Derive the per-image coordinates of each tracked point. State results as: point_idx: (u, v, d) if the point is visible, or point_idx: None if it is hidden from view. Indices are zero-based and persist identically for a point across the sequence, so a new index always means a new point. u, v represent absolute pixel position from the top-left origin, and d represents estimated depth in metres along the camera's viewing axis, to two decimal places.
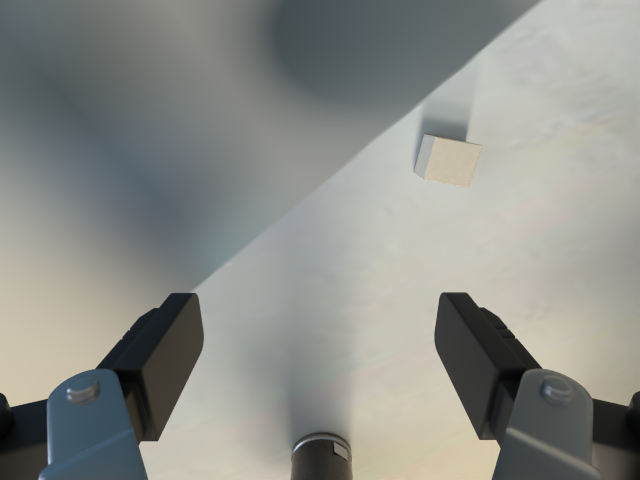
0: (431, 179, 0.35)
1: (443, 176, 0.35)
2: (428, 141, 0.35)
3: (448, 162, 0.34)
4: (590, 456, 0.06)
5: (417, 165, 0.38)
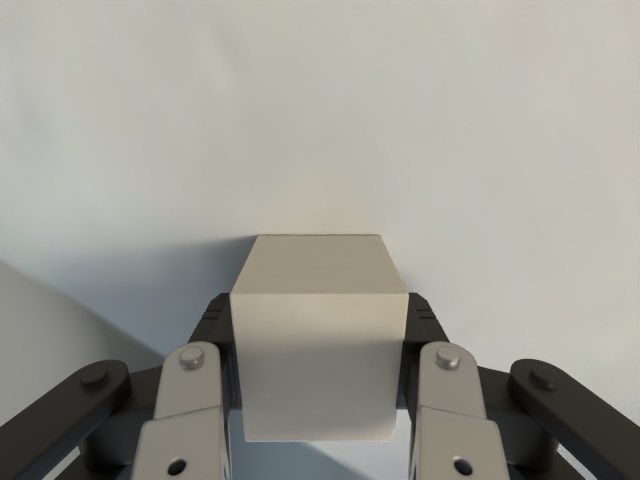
0: (391, 422, 0.09)
1: (375, 389, 0.09)
2: None
3: (320, 388, 0.09)
4: (456, 410, 0.06)
5: None
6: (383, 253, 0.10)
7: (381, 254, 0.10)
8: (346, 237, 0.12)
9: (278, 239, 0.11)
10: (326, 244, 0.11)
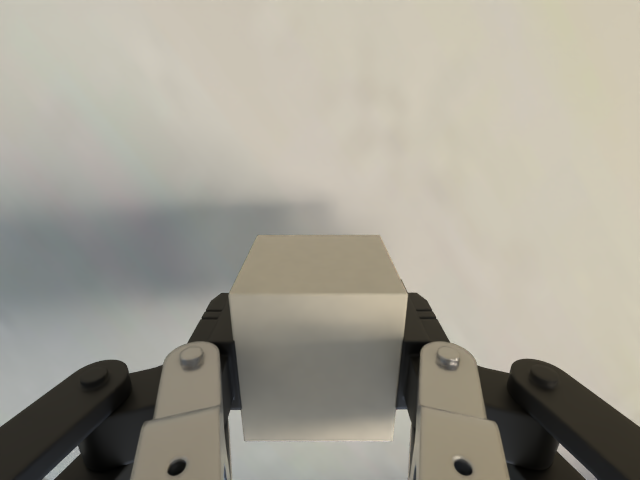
0: (390, 422, 0.09)
1: (374, 389, 0.09)
2: None
3: (320, 388, 0.09)
4: (456, 410, 0.06)
5: None
6: (382, 253, 0.10)
7: (381, 254, 0.10)
8: (345, 237, 0.12)
9: (278, 238, 0.11)
10: (325, 244, 0.11)
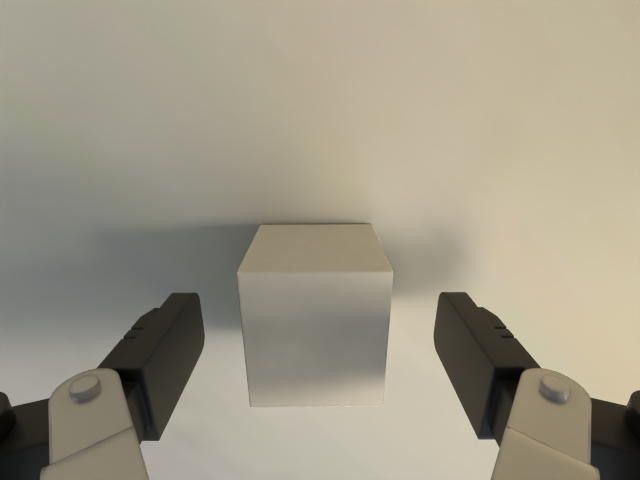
0: (380, 388, 0.11)
1: (365, 358, 0.10)
2: None
3: (316, 357, 0.10)
4: (588, 455, 0.06)
5: None
6: (373, 239, 0.11)
7: (371, 240, 0.11)
8: (340, 226, 0.13)
9: (279, 227, 0.13)
10: (322, 232, 0.12)
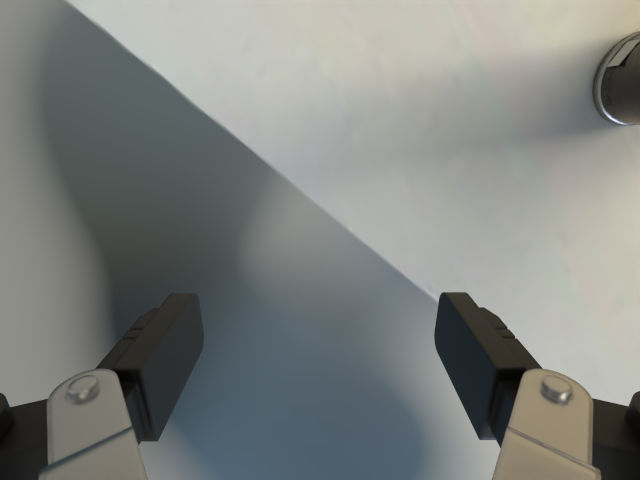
0: None
1: None
2: None
3: None
4: (590, 456, 0.06)
5: None
6: None
7: None
8: None
9: None
10: None
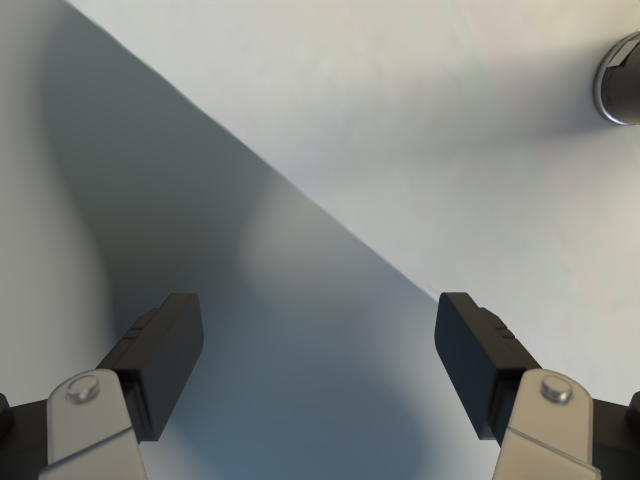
0: None
1: None
2: None
3: None
4: (590, 456, 0.06)
5: None
6: None
7: None
8: None
9: None
10: None
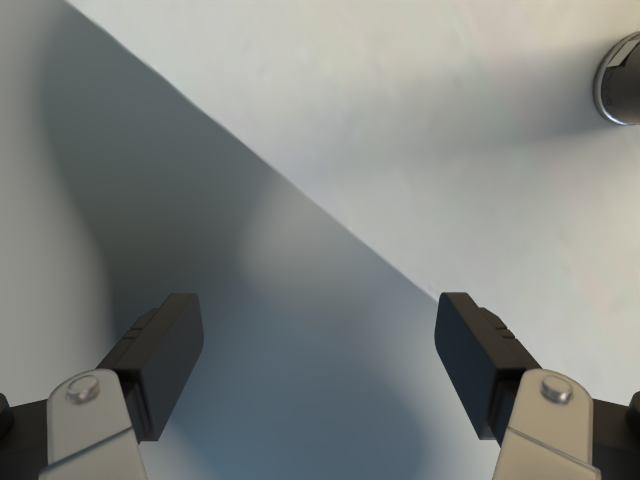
0: None
1: None
2: None
3: None
4: (590, 456, 0.06)
5: None
6: None
7: None
8: None
9: None
10: None
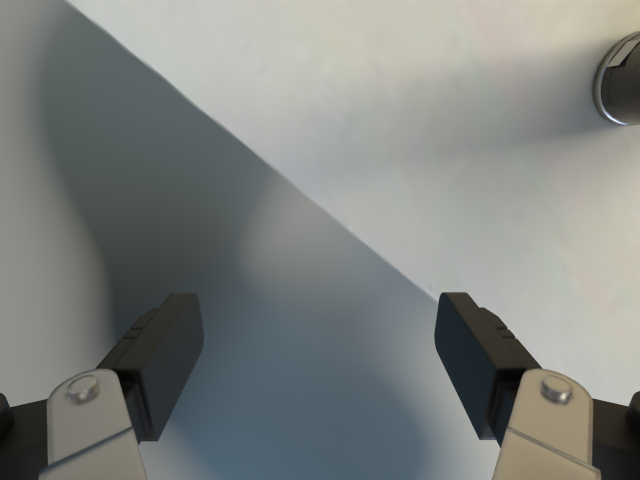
0: None
1: None
2: None
3: None
4: (590, 456, 0.06)
5: None
6: None
7: None
8: None
9: None
10: None
